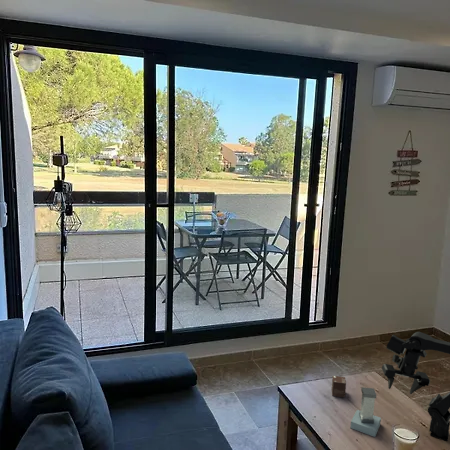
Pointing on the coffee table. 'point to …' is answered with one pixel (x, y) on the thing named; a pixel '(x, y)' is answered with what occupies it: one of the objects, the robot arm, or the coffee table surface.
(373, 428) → the stand
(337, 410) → the coffee table surface
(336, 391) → the box
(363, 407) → the housing
